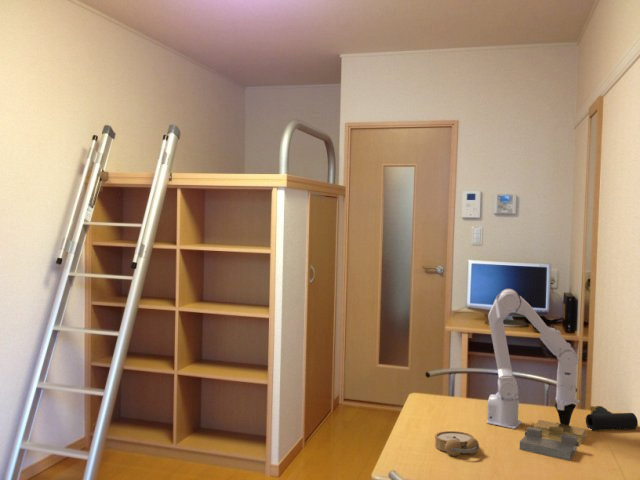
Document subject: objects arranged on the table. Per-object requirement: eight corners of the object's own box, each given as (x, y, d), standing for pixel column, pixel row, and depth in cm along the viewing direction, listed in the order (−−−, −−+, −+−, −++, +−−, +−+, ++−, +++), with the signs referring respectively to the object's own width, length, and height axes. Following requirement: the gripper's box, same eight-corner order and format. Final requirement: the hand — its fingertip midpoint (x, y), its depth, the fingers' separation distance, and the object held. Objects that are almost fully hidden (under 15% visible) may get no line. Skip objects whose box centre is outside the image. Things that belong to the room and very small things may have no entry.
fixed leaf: (517, 448, 181) (517, 434, 181) (526, 439, 188) (526, 426, 188) (572, 461, 172) (572, 446, 172) (578, 451, 180) (579, 437, 179)
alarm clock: (462, 429, 188) (486, 438, 174) (463, 446, 188) (487, 456, 173) (428, 432, 186) (449, 441, 171) (429, 449, 185) (450, 459, 171)
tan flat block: (531, 436, 191) (532, 422, 191) (539, 428, 199) (539, 415, 198) (579, 446, 183) (580, 432, 183) (585, 437, 191) (586, 424, 191)
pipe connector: (575, 404, 207) (615, 403, 209) (574, 420, 208) (615, 418, 210) (595, 417, 196) (638, 415, 198) (594, 433, 196) (637, 431, 198)
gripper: (574, 392, 189) (573, 435, 189) (584, 381, 201) (582, 422, 202) (550, 388, 193) (549, 430, 193) (561, 378, 205) (560, 418, 205)
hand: (564, 426), depth 198 cm, fingers closed
